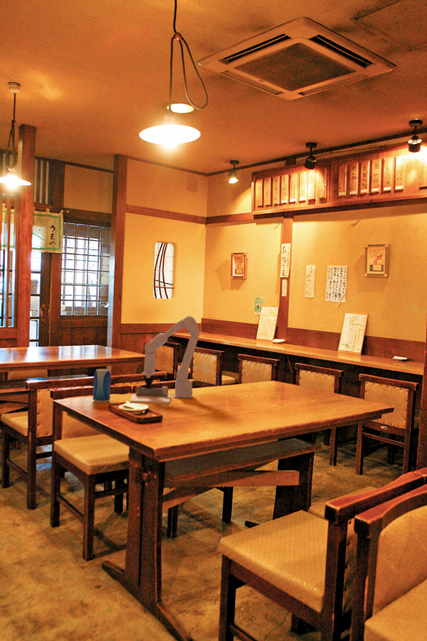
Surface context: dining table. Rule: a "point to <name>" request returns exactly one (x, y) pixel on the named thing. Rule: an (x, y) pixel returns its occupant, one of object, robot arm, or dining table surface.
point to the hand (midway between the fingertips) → (148, 389)
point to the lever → (152, 391)
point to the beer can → (101, 386)
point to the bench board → (150, 399)
